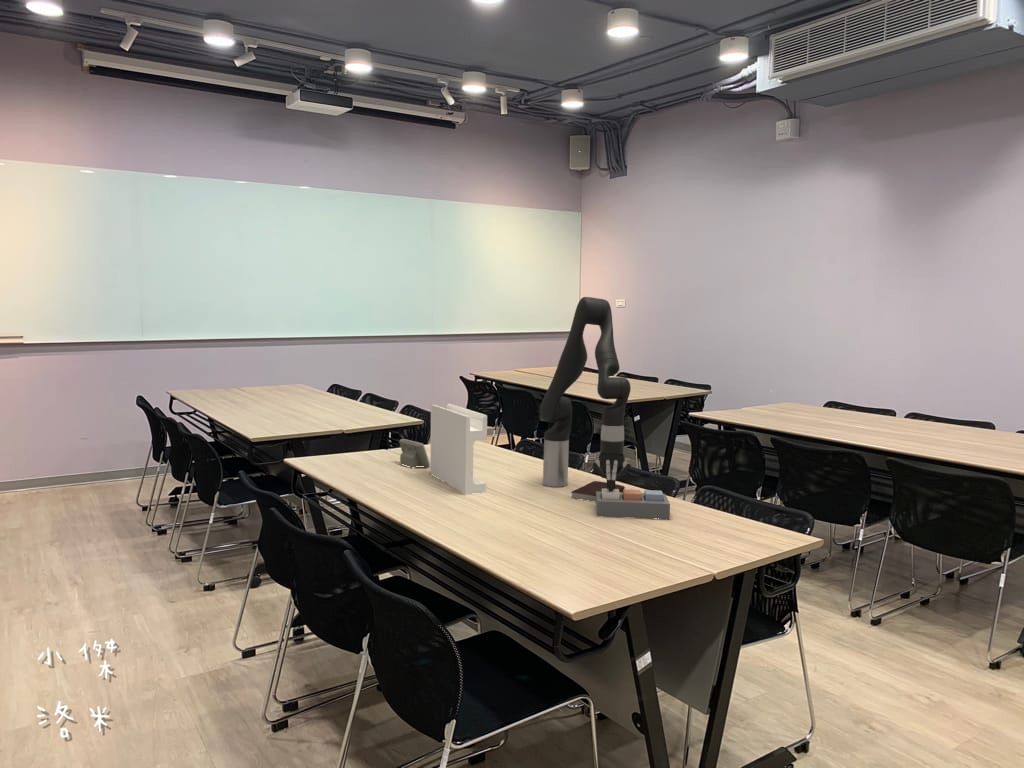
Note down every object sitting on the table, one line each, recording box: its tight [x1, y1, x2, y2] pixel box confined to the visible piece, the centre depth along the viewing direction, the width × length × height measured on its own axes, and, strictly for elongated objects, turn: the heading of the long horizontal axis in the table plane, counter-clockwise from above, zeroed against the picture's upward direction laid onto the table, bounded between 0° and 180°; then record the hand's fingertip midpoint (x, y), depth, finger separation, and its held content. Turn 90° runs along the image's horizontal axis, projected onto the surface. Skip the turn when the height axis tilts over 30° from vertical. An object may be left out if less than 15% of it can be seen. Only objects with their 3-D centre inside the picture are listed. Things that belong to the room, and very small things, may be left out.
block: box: [429, 403, 488, 495], centre depth 275 cm, size 35×8×28 cm, turn 27°
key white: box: [601, 489, 620, 500], centre depth 240 cm, size 6×6×4 cm
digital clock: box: [398, 438, 430, 468], centre depth 306 cm, size 16×9×11 cm, turn 31°
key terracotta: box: [623, 488, 642, 500], centre depth 240 cm, size 6×6×4 cm
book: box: [570, 480, 625, 503], centre depth 262 cm, size 12×19×3 cm, turn 149°
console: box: [595, 491, 671, 520], centre depth 240 cm, size 23×13×5 cm, turn 85°
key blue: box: [643, 489, 664, 501], centre depth 239 cm, size 6×6×4 cm
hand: (610, 490), depth 240 cm, fingers closed
